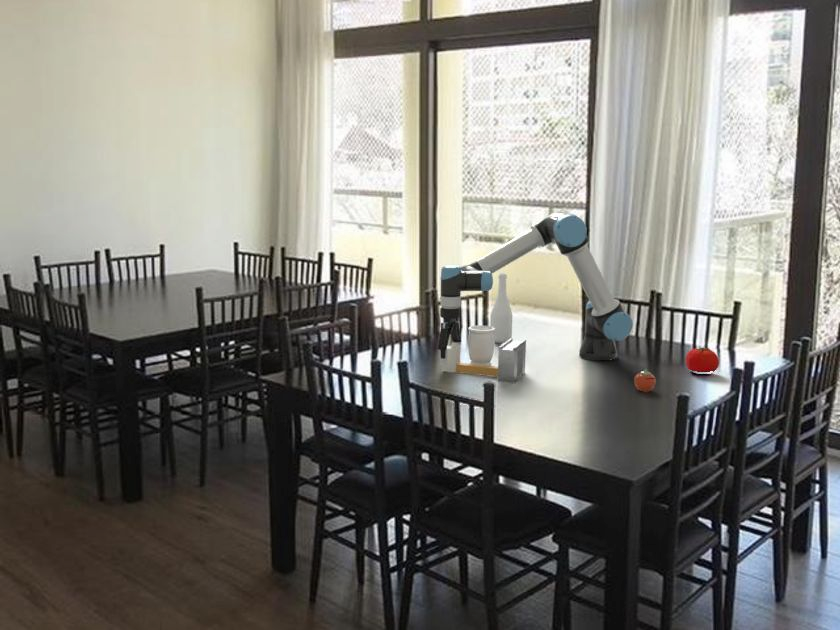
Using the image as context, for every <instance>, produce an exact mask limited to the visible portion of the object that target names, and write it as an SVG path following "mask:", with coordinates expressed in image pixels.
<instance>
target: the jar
mask: <svg viewBox="0 0 840 630" xmlns="http://www.w3.org/2000/svg"><path fill="white" fill-rule="evenodd" d="M494 331H495V328H494V327H491V326H490V325H471V326H469V327H468V338H467V348H468V356H469V359H470V361H471V362H470V363H469V364H477V365H487V366H492V362H491V361H492V359H493V356H494V350H495V343H496V342H495V339H494V333H493V332H494Z"/></svg>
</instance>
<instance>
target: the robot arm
mask: <svg viewBox="0 0 840 630" xmlns="http://www.w3.org/2000/svg"><path fill="white" fill-rule="evenodd" d="M587 230H588V229H587V225H586V224H585V222H584V220H583V219H582V218H580V217H579V216H578V215H576V214H573V213H565V212H560V211H556V212H553V213H550V214H549V215H547V216H545V217H544V218H542V219H540V220H539V221H537V222H536V223H533V224H532V225H531V226H530V229H528V230H527V231H525V232H523V233H522V234H520V235H518V236H516V237H514V238H513V239H512V240H510V241H508V242H506V243H505V244H502V245H501V246H499V247H498V248H496V249H494V250H492V251H490V252H489V253H487V254H486V255H484V256H482V257H480V258H479V259H477V260H475V261H474V262H471V263H470V264H465V265H462V266H460V265H453V264H452V265H450V264H449V265H443V266H442V267H441V269H440V270H441V271H440V297H439V301H440V306H441V307H440V309H439V310H440V311H439V313H440V314H439V316H440V318H441V319H442V318H443V319H444V322H440V331H439V338H438V346H437V350H439V358H440V360H439V367H442V368H443V367H447V357H448V350H446V349H447V346H449V340H450V337H451V341H452V342H451V343H450V344H451V345H450V346H458V347H460V344H459V343H461V342H462V337H461V336H462V335H461V327H460V317H461V304H462V303H461V301H462V300H461V295H462V293H461V292H487V291H491V290H492V288H493V285H494V278H493V274H494V273H496V272H497V271H498V272H499V270H501V269H503V268H505V267H506V266H508V265H509V264H511V263H513V262H515V261H517V260H518V259H520V258H521V257H524V256H525V255H527V254H528V253H531V252H533V251H534V250H536V249H537V248H539V247H543V248H544V247H546V246H548V245H550V244H553V243H555V245H556V246H557V248H558V250H559V252H560V254H561V255H563V256H565V257H567V259H568V262H569V264H570V265H571V267H572V269H573V271H574V273H575V274H576V277H577V279H578V280H579V283H580V285H581V287H582V289H583V291H584V293H585V294H586V297H587V299H588V300H589V301H587V303H586V305H585V318H584V319H585V320H584V321H585V322H584V339H583V341H582V343H581V346H580V348H579V353H578V354H579V357H580V358H581V359H584V358H585V360H589V359H591V360H590V361H596V360H609V361H611V360H610V359H614V358H616V357H617V358H618V351H617V346H616V343H615V342H617V341H618V342H619V341H623V340H625V339H626V338H627V337H628V336H629V335H630V334H631V332H632V329H633V326H634V325H633V323H634V322H633V318H632V317H631V316H630V315H629V313H627V312H625V309H624V308H623V306H622V303H621V302H620V300H619V299H616V298H613V295H612V293H611V290H610V288H609V287H608V284H607V283H606V281H605V279H604V277H603V275H602V272H601V270H600V269H599V266H598V264H597V262H596V261H595V258H594V256H593V255H592V253H591V252H592V251H591V250H590V249H589V243H590V239H589V237H588V235H587V233H588V231H587ZM617 358H616V359H617ZM614 360H615V359H614Z"/></svg>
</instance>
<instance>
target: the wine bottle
mask: <svg viewBox="0 0 840 630" xmlns="http://www.w3.org/2000/svg"><path fill="white" fill-rule="evenodd" d="M497 276H498V287H497V288H498V290H497V295H496V298H495V300H494V303H493V306H492V308H491V312H490V315H489V317H490V322H489V323H490V324H489V326H491V327H494V328H495V331H494V332H493V333H494V339H495V343H497V344H503V343H505V342H506V341H508V340H509V339H510V338H513V337H512V334H513V312H512V308H511V304H510V301H509V298H508V295H507V279H508V278H507V277H508V275H507V273H506V272H499V273H498V275H497Z"/></svg>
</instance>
